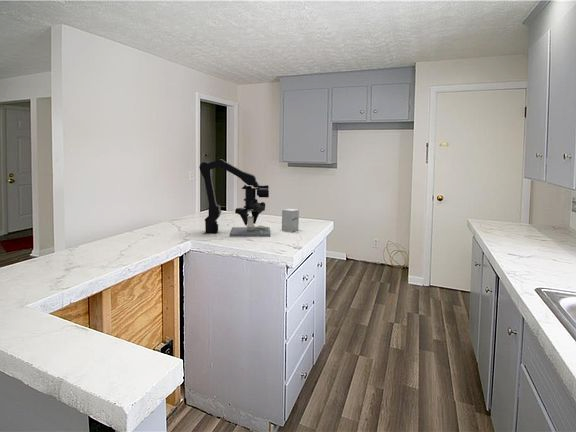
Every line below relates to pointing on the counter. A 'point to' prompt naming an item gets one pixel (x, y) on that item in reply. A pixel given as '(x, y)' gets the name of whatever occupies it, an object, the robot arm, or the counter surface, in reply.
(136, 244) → the counter surface
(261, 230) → the dial plate
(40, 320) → the counter surface
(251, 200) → the robot arm
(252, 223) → the tuning peg
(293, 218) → the supplement box
